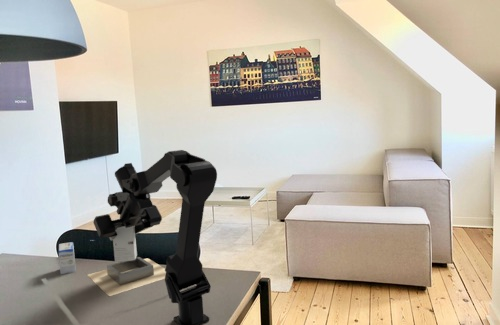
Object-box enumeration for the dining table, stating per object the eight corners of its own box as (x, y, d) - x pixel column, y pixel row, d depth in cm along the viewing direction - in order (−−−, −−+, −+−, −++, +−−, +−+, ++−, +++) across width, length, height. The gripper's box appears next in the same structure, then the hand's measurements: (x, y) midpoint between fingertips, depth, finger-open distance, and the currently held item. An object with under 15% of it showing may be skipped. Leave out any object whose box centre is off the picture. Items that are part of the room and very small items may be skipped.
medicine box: (61, 269, 132) (58, 243, 131) (75, 266, 134) (73, 241, 133) (60, 277, 125) (58, 250, 124) (76, 274, 127) (73, 248, 126)
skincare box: (114, 262, 118) (109, 223, 116) (117, 257, 122) (112, 219, 121) (136, 260, 119) (131, 221, 117) (138, 255, 123) (133, 217, 121)
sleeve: (153, 275, 121) (153, 265, 121) (120, 285, 114) (119, 275, 114) (140, 265, 129) (139, 256, 129) (107, 274, 123) (106, 265, 122)
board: (175, 278, 120) (175, 275, 120) (109, 299, 108) (109, 296, 108) (147, 260, 136) (147, 258, 136) (87, 277, 124) (87, 274, 124)
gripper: (154, 178, 121) (140, 209, 130) (92, 188, 109) (82, 221, 118) (169, 207, 116) (154, 237, 125) (106, 221, 104) (94, 253, 113)
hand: (122, 236), depth 121 cm, fingers closed on skincare box, 7 cm apart
